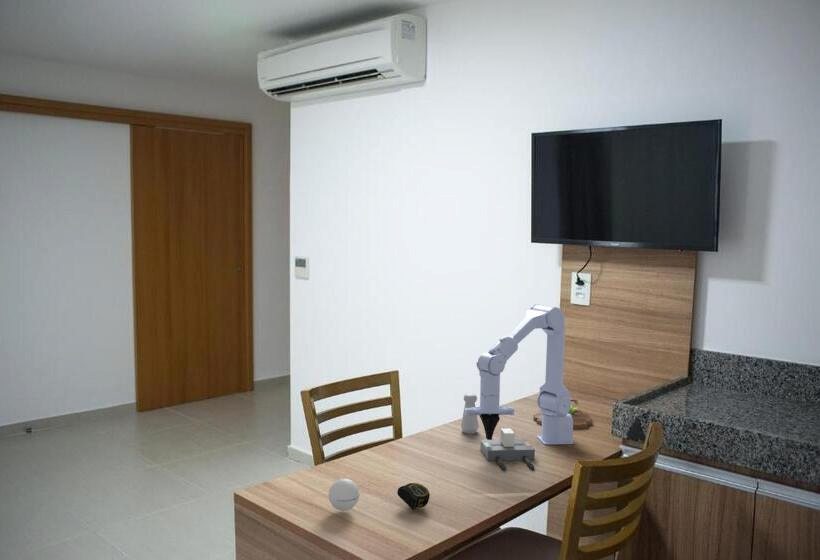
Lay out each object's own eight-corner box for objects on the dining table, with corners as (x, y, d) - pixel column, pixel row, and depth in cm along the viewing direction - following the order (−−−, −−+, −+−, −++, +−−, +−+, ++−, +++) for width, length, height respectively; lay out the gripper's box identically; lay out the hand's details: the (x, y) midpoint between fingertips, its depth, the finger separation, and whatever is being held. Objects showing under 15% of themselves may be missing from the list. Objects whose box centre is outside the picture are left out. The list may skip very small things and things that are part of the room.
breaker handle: (510, 441, 204) (510, 428, 204) (514, 446, 199) (514, 433, 199) (500, 441, 204) (500, 428, 204) (504, 446, 199) (504, 433, 199)
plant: (594, 418, 244) (595, 388, 244) (589, 433, 226) (590, 400, 225) (538, 412, 251) (539, 383, 250) (529, 426, 233) (530, 394, 232)
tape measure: (394, 497, 165) (397, 483, 164) (417, 493, 169) (420, 479, 168) (409, 513, 159) (413, 499, 159) (432, 508, 163) (436, 495, 162)
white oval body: (327, 516, 157) (328, 485, 156) (328, 503, 164) (328, 474, 163) (371, 515, 158) (371, 484, 157) (369, 502, 165) (370, 473, 164)
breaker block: (525, 448, 208) (525, 438, 208) (534, 459, 198) (534, 449, 198) (480, 449, 206) (480, 439, 206) (487, 460, 196) (487, 450, 196)
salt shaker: (478, 430, 226) (479, 392, 225) (478, 436, 220) (479, 396, 219) (461, 430, 226) (461, 391, 225) (460, 435, 221) (461, 396, 220)
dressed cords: (526, 459, 198) (526, 455, 198) (535, 470, 189) (535, 465, 189) (495, 459, 197) (495, 455, 197) (502, 470, 188) (502, 466, 188)
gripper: (510, 390, 205) (509, 434, 206) (463, 390, 203) (462, 435, 204) (516, 396, 198) (515, 441, 199) (467, 396, 196) (466, 442, 197)
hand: (488, 438), depth 201 cm, fingers closed
